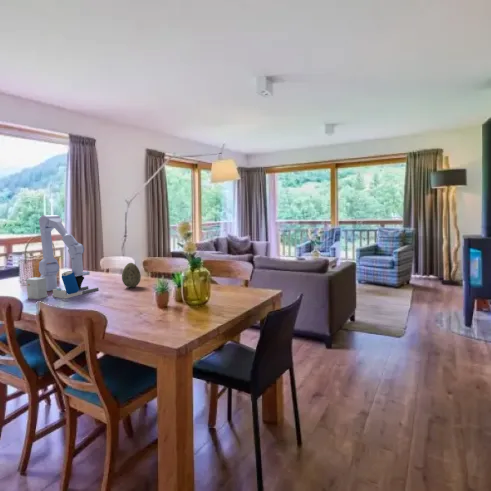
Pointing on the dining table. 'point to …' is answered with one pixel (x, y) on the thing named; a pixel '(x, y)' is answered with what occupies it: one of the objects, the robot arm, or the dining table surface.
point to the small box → (36, 288)
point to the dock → (62, 293)
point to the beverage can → (70, 282)
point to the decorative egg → (131, 275)
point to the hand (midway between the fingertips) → (78, 289)
